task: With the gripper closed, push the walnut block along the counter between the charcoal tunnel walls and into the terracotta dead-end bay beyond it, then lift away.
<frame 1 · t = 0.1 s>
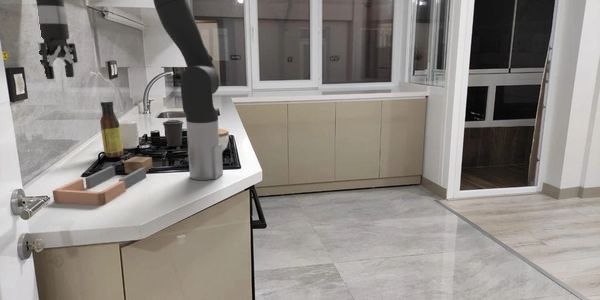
hand: (60, 78, 128), 29 cm above the worktop, fingers open, 8 cm apart
walnut block: (139, 171, 133), on the worktop
sauce bottle: (113, 156, 152), on the worktop
tunnel: (117, 182, 122), on the worktop
lidded jar: (215, 152, 158), on the worktop
white cup: (130, 147, 165), on the worktop
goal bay: (91, 196, 110), on the worktop
coffee cup: (174, 145, 169), on the worktop
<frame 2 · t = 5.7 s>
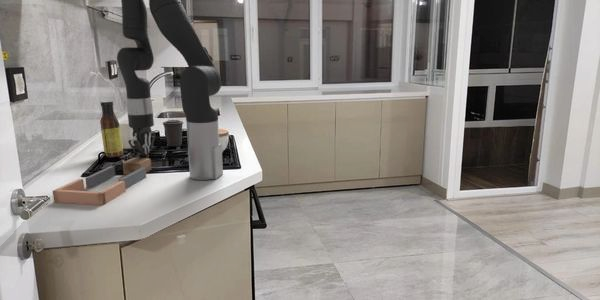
hand: (145, 164, 137), 1 cm above the worktop, fingers closed
walnut block: (137, 172, 132), on the worktop
everything else where it was.
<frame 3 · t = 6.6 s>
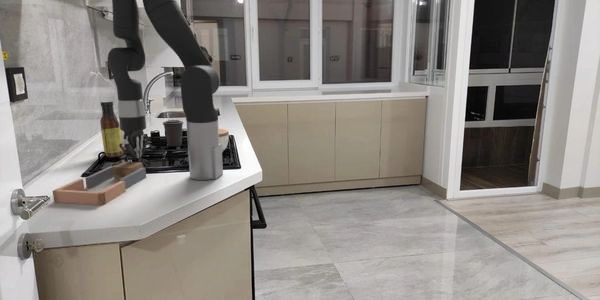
hand: (137, 168, 132), 1 cm above the worktop, fingers closed
walnut block: (129, 177, 128), on the worktop, touching gripper
everything else where it was.
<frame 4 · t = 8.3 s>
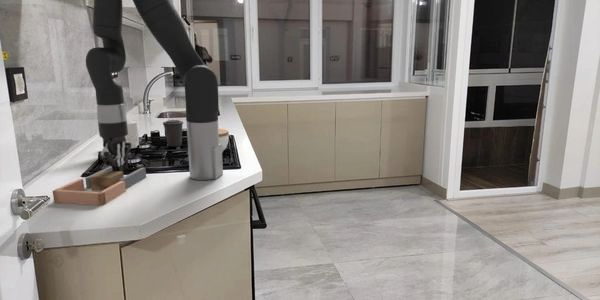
hand: (118, 177, 123), 1 cm above the worktop, fingers closed
walnut block: (108, 187, 118), on the worktop
everything else where it was.
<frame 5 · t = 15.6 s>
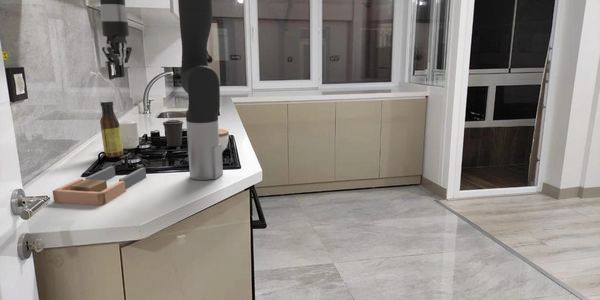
hand: (120, 77, 133), 29 cm above the worktop, fingers closed
walnut block: (90, 197, 110), on the worktop
everything else where it was.
at the end: walnut block inside the target area (0.1 cm from its centre), on the worktop; walnut block tilted 0° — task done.
